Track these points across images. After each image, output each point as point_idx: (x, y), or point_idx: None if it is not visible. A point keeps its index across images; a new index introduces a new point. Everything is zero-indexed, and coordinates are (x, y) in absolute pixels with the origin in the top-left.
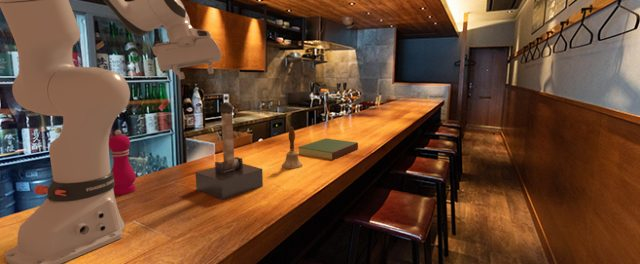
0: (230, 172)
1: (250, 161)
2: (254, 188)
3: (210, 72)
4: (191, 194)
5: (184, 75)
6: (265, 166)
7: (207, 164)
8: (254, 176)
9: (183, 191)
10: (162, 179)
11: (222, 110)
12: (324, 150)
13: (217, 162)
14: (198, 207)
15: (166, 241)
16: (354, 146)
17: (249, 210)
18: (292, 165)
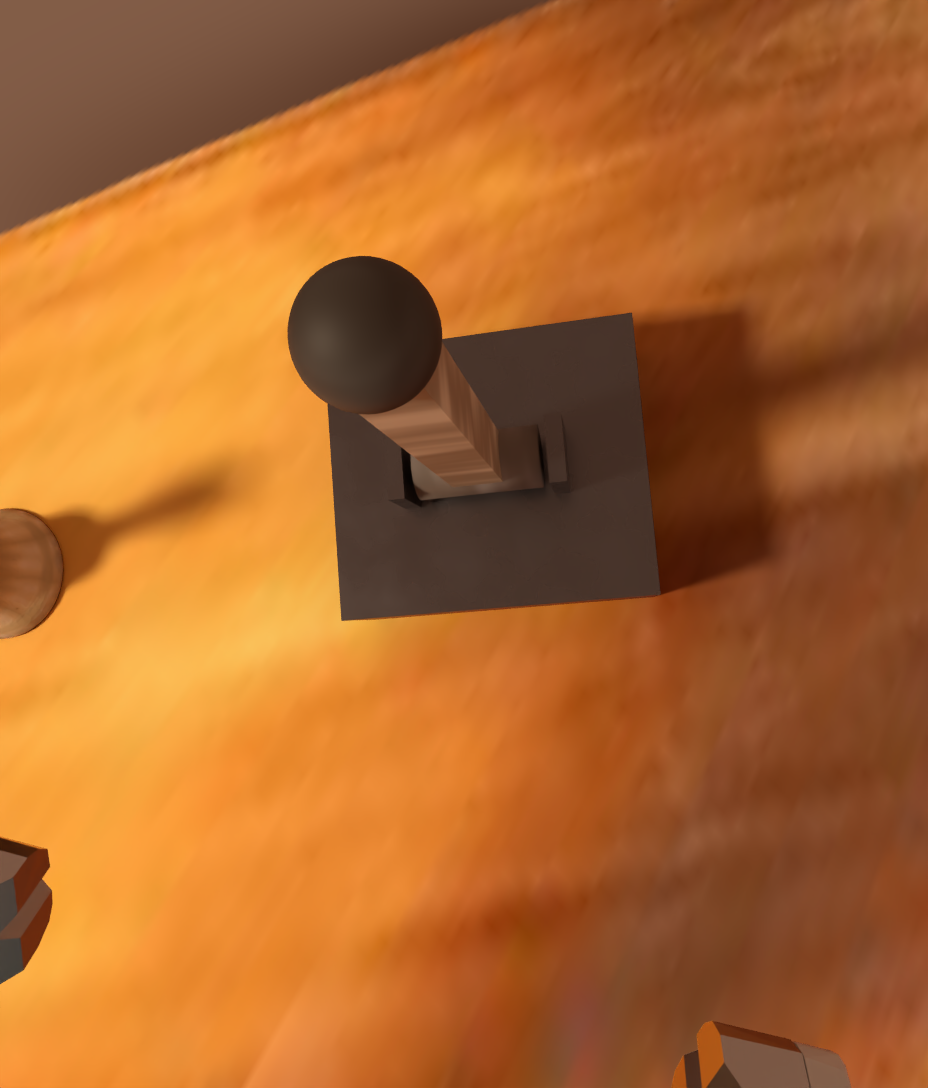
0: (504, 424)
1: (107, 862)
2: None
3: (22, 851)
4: (711, 546)
5: (719, 1037)
6: (117, 685)
7: (341, 1038)
8: None
9: (722, 626)
10: (722, 951)
11: (438, 314)
12: None
13: (559, 460)
14: (772, 344)
15: None
16: None
17: (608, 148)
18: (25, 530)
